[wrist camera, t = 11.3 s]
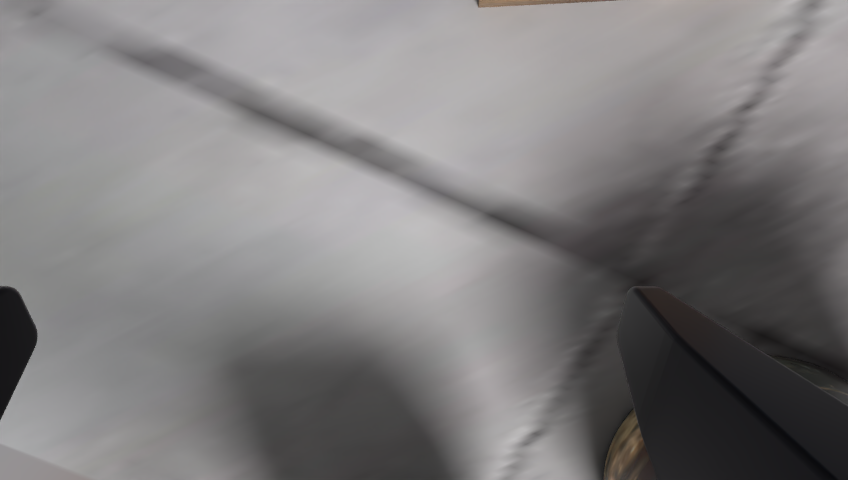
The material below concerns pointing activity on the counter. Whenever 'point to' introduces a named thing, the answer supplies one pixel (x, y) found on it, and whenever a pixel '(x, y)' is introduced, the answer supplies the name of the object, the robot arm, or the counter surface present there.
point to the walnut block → (526, 2)
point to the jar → (627, 455)
